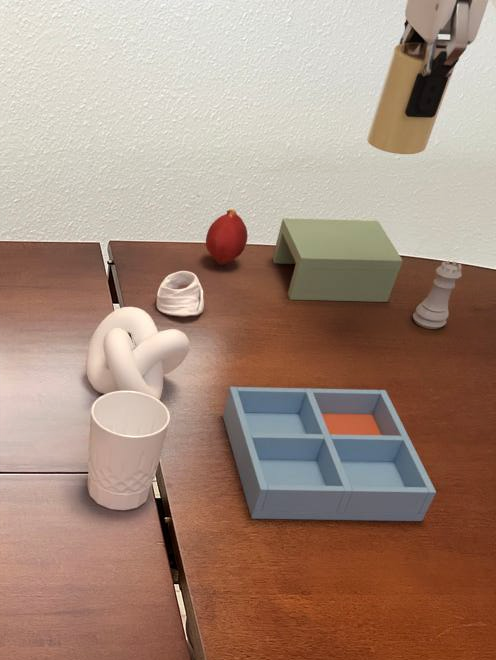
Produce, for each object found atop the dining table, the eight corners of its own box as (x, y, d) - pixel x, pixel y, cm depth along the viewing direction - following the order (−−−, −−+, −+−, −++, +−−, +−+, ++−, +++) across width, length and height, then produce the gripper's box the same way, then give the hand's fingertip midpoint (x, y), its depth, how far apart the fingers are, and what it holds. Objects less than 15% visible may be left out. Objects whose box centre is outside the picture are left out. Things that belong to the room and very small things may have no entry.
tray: (374, 418, 107) (385, 389, 103) (422, 521, 95) (436, 492, 92) (222, 415, 106) (229, 386, 103) (251, 518, 94) (260, 489, 91)
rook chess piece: (433, 333, 120) (458, 277, 114) (405, 320, 122) (427, 263, 116) (451, 323, 122) (476, 266, 116) (422, 309, 124) (445, 253, 118)
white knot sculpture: (173, 430, 104) (187, 362, 97) (72, 413, 105) (79, 345, 98) (183, 377, 111) (196, 310, 104) (88, 362, 112) (96, 295, 105)
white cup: (115, 458, 100) (126, 381, 92) (169, 492, 96) (186, 414, 89) (67, 489, 96) (74, 411, 88) (121, 525, 92) (134, 447, 85)
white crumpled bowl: (204, 329, 120) (214, 297, 116) (155, 323, 120) (164, 290, 116) (199, 296, 125) (209, 264, 121) (152, 289, 124) (161, 257, 120)
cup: (416, 132, 104) (447, 42, 97) (433, 155, 100) (467, 62, 93) (360, 130, 104) (387, 40, 97) (375, 153, 99) (404, 60, 93)
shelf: (364, 261, 133) (378, 220, 128) (387, 302, 125) (403, 260, 120) (272, 258, 132) (282, 218, 128) (289, 299, 124) (301, 258, 120)
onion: (212, 250, 133) (224, 195, 127) (247, 262, 131) (260, 207, 125) (194, 265, 130) (205, 209, 124) (229, 277, 128) (242, 221, 122)
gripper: (551, -81, 79) (468, 135, 93) (485, -120, 91) (420, 78, 104) (469, -84, 79) (397, 132, 93) (413, -123, 91) (356, 75, 104)
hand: (409, 102), depth 98 cm, fingers closed on cup, 6 cm apart
